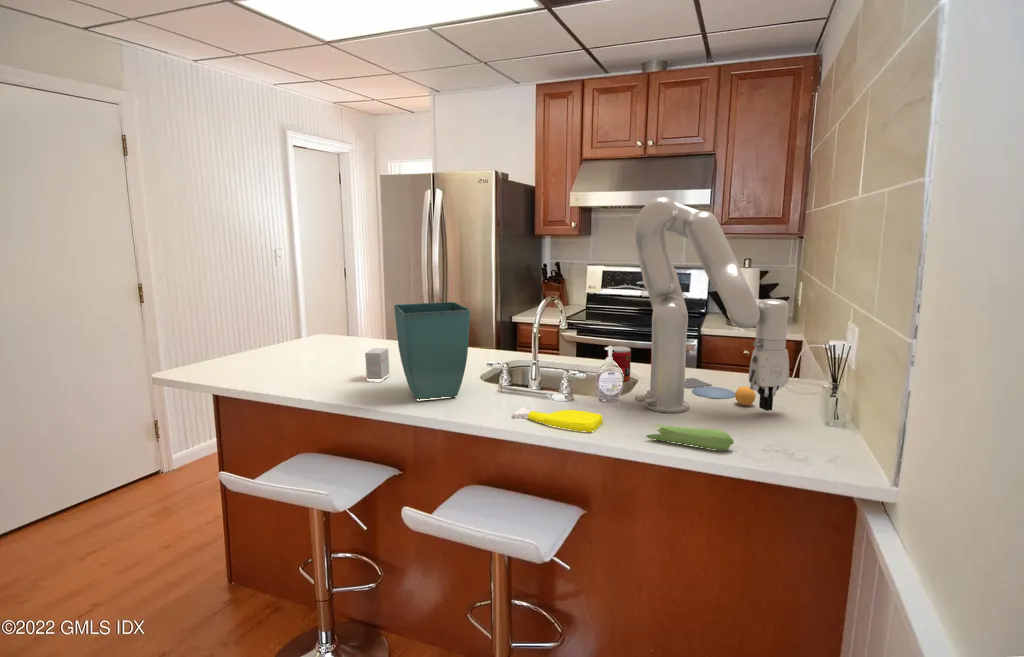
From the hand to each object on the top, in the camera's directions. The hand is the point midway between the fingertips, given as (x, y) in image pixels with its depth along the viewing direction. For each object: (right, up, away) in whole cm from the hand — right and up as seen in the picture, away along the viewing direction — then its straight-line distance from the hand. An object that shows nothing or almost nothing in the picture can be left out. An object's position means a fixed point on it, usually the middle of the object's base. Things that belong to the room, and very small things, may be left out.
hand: (765, 408), depth 154 cm
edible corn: (-28, -6, -21) cm, 36 cm away
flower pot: (-95, +1, +21) cm, 98 cm away
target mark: (-7, +2, +21) cm, 22 cm away
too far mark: (-11, +4, +32) cm, 34 cm away
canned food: (-34, +5, +38) cm, 51 cm away
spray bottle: (-59, -3, -4) cm, 59 cm away
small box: (-118, +4, +41) cm, 125 cm away
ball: (-2, +3, +8) cm, 9 cm away
